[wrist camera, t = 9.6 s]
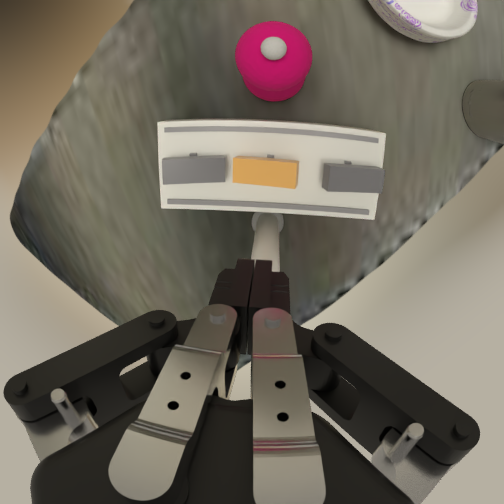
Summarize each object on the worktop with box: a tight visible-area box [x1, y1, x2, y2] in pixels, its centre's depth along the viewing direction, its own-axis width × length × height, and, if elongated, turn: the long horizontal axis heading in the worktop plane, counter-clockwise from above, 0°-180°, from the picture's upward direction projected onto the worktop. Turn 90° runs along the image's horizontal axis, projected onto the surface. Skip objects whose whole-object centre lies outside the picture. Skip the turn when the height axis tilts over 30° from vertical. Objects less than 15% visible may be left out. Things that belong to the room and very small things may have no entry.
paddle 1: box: [162, 155, 225, 185], centre depth 34 cm, size 7×3×2 cm, turn 89°
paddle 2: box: [322, 163, 385, 193], centre depth 33 cm, size 7×3×2 cm, turn 89°
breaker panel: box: [158, 119, 386, 220], centre depth 38 cm, size 27×11×6 cm, turn 88°
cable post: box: [251, 212, 284, 272], centre depth 34 cm, size 4×4×22 cm
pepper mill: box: [235, 21, 312, 101], centre depth 26 cm, size 7×7×20 cm
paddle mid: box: [233, 156, 299, 189], centre depth 34 cm, size 7×3×2 cm, turn 88°
